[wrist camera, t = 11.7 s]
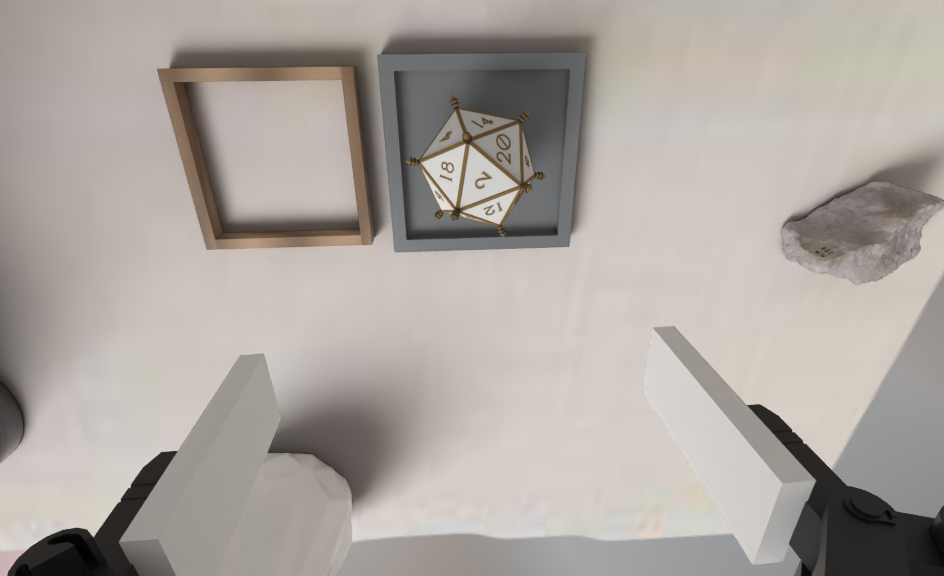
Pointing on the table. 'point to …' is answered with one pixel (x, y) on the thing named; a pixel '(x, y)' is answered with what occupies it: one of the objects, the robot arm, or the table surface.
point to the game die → (478, 166)
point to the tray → (494, 92)
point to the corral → (197, 169)
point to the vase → (292, 521)
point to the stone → (861, 232)
